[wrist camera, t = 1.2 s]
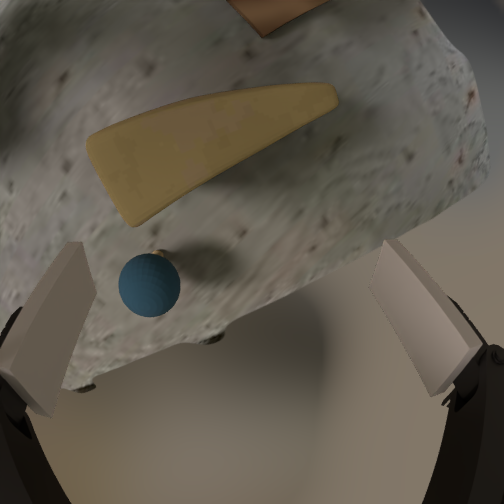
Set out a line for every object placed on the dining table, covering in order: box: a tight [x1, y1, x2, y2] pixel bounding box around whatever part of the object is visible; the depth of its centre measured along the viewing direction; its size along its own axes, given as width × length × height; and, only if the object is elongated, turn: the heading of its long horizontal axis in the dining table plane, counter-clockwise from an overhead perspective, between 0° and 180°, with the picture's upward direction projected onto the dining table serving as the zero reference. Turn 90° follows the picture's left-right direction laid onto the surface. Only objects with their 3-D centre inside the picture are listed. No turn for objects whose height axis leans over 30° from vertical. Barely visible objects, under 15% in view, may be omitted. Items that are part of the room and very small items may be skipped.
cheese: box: [86, 82, 339, 227], centre depth 27 cm, size 22×10×15 cm, turn 110°
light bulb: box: [119, 250, 180, 317], centre depth 38 cm, size 8×8×12 cm
